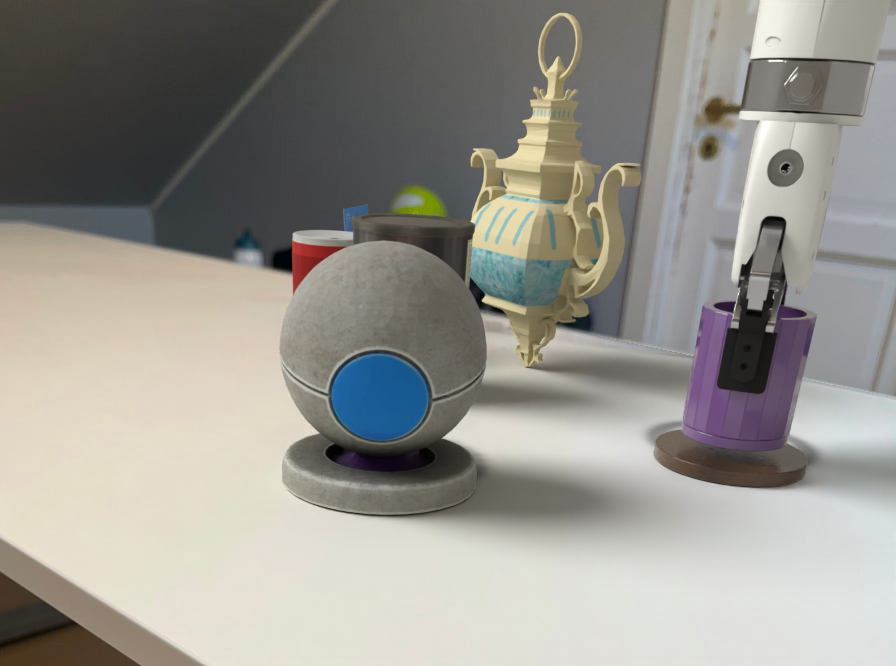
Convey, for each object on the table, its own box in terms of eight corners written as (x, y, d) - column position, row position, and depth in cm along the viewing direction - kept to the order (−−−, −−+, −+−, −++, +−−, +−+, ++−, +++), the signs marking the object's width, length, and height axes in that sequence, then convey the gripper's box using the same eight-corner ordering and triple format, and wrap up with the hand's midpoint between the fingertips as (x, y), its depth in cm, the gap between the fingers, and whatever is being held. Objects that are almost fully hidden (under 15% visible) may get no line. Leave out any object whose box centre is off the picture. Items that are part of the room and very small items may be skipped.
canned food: (341, 361, 96) (342, 241, 91) (277, 348, 99) (275, 232, 94) (383, 348, 102) (387, 235, 96) (322, 337, 105) (322, 228, 100)
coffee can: (434, 410, 81) (444, 229, 75) (327, 391, 85) (328, 217, 78) (481, 385, 90) (494, 220, 83) (382, 369, 93) (387, 210, 87)
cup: (790, 430, 74) (819, 307, 69) (783, 458, 68) (815, 324, 63) (688, 416, 76) (710, 296, 72) (673, 441, 70) (696, 311, 66)
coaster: (808, 454, 76) (811, 441, 75) (801, 497, 66) (805, 483, 66) (666, 432, 79) (668, 420, 78) (641, 471, 70) (643, 457, 69)
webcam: (471, 456, 71) (488, 235, 64) (481, 520, 60) (504, 261, 53) (293, 448, 71) (290, 225, 64) (270, 511, 59) (263, 248, 52)
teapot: (651, 390, 91) (713, 11, 77) (552, 401, 86) (598, -3, 72) (508, 339, 109) (536, 24, 95) (419, 345, 104) (435, 13, 90)
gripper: (868, 95, 53) (794, 414, 61) (866, 104, 67) (806, 361, 76) (728, 89, 55) (674, 397, 64) (754, 99, 70) (708, 349, 78)
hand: (746, 376), depth 70 cm, fingers closed on cup, 7 cm apart
